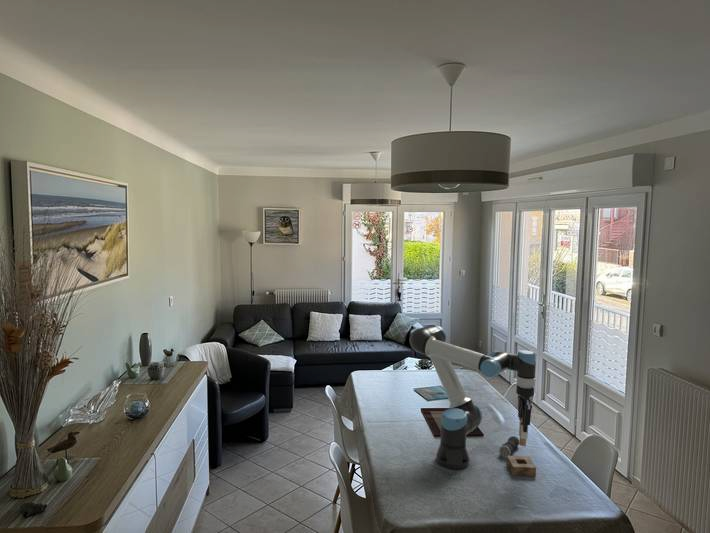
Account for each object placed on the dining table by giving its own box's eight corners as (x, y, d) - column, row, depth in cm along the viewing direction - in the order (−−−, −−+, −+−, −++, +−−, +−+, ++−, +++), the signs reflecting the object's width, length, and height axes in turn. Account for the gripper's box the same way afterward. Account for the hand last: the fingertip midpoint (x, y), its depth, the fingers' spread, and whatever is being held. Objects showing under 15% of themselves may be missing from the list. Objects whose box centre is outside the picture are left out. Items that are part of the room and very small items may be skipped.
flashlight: (509, 444, 241) (509, 433, 240) (519, 447, 237) (520, 436, 237) (498, 455, 228) (499, 444, 228) (510, 458, 225) (510, 447, 225)
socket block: (512, 475, 210) (513, 466, 210) (506, 463, 220) (507, 455, 219) (535, 476, 209) (536, 467, 209) (528, 464, 219) (529, 456, 219)
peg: (520, 446, 212) (521, 420, 211) (518, 443, 215) (519, 417, 214) (526, 446, 212) (528, 420, 211) (524, 443, 215) (525, 417, 214)
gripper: (539, 392, 203) (537, 444, 205) (528, 380, 218) (526, 429, 220) (521, 391, 204) (519, 444, 206) (512, 379, 219) (510, 429, 221)
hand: (523, 436), depth 213 cm, fingers closed on peg, 2 cm apart
